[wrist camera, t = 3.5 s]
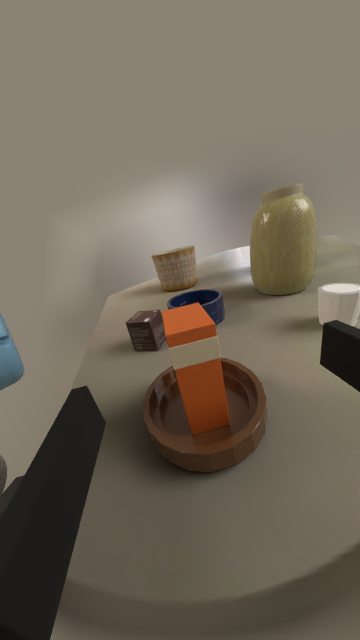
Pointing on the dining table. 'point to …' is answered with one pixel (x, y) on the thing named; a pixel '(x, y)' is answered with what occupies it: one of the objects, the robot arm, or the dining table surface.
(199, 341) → the packet
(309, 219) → the vase
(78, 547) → the dining table surface
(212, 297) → the pot
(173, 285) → the planter
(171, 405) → the bowl
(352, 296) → the white cylinder
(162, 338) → the box
